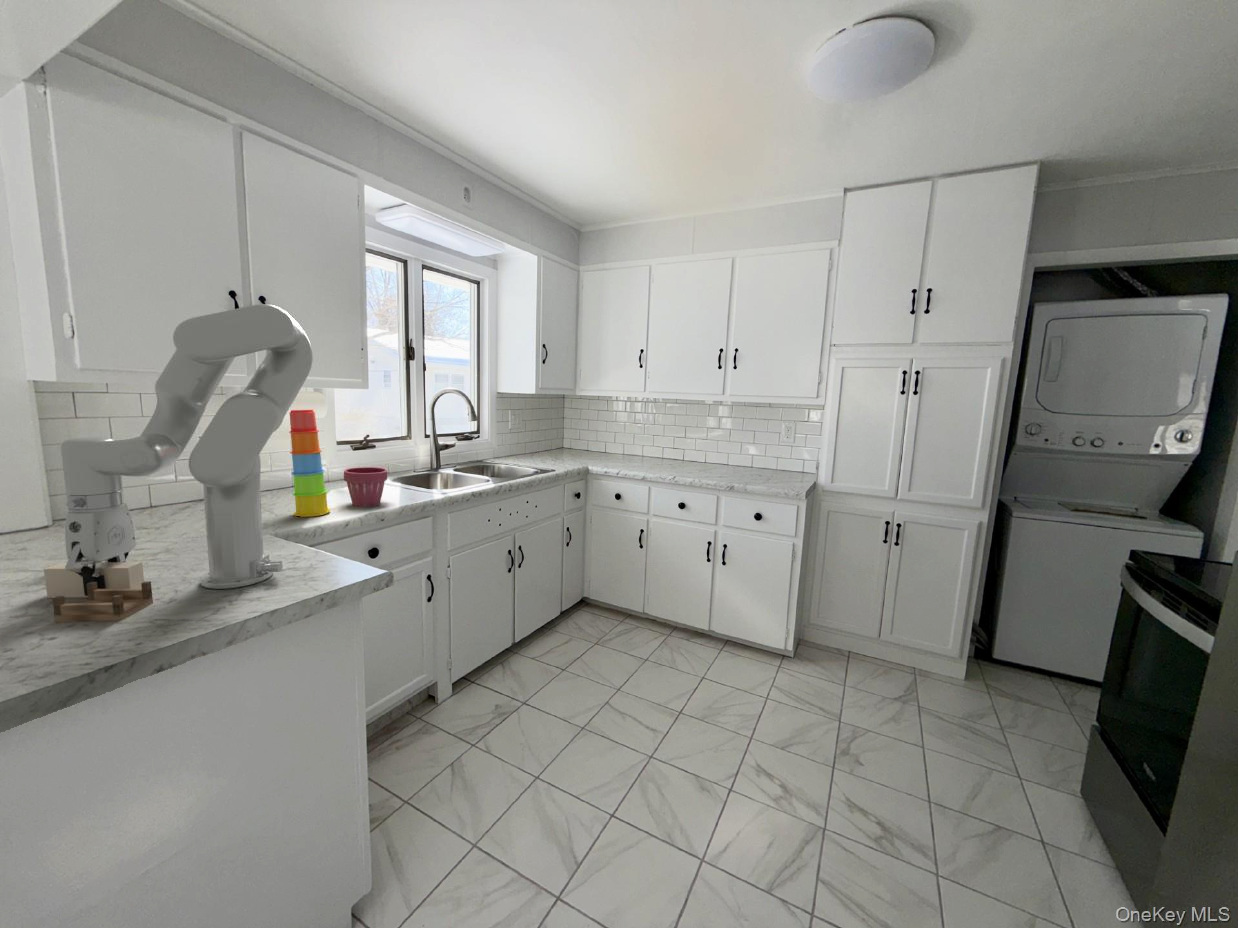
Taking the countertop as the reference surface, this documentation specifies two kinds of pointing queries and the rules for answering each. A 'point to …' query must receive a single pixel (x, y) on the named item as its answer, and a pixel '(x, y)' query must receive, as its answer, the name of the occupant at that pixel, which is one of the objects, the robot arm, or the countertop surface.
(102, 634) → the countertop surface
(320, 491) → the stacking cups
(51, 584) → the clay bar
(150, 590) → the rack
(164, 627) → the countertop surface
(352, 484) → the plant pot
